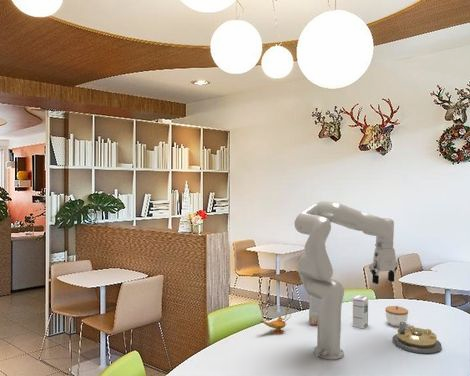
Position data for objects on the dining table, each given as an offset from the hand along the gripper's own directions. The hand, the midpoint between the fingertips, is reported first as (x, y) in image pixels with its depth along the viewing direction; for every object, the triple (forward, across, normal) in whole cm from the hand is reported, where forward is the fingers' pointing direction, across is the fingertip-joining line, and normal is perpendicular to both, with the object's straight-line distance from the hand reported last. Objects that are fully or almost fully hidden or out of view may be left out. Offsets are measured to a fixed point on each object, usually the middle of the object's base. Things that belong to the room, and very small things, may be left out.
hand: (383, 282), depth 203 cm
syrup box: (+26, 0, +15) cm, 30 cm away
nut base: (+26, +8, -13) cm, 30 cm away
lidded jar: (+26, +19, +8) cm, 33 cm away
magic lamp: (+26, -42, +26) cm, 56 cm away
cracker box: (+26, -14, +25) cm, 39 cm away
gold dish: (+24, +8, -13) cm, 28 cm away
